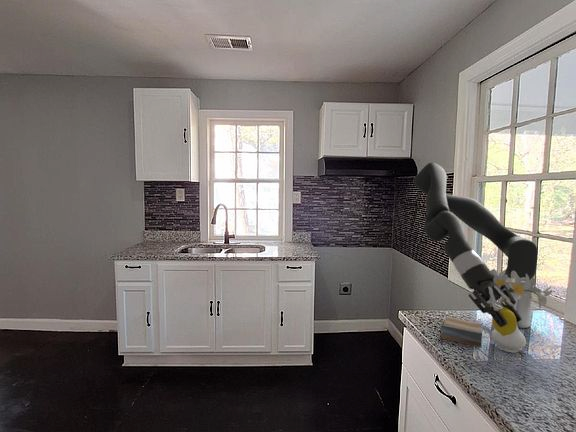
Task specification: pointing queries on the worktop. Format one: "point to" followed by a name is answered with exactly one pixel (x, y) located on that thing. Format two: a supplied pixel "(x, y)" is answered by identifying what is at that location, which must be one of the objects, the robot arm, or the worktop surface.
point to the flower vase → (516, 289)
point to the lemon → (510, 320)
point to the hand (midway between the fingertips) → (511, 323)
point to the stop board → (462, 331)
